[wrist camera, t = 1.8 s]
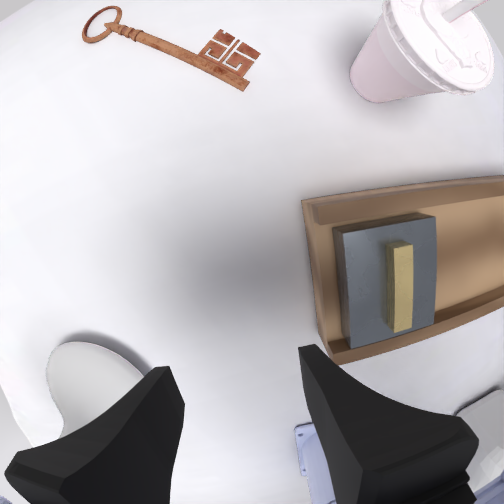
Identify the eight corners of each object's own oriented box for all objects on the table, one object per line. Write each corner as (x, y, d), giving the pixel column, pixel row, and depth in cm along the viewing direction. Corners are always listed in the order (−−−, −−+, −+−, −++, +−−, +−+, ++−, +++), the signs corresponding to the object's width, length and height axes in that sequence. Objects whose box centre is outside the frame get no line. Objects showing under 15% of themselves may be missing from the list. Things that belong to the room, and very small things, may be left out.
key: (275, 51, 17) (120, -10, 15) (277, 46, 16) (117, -15, 14) (229, 111, 18) (76, 40, 16) (229, 107, 17) (72, 35, 15)
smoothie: (391, 40, 16) (504, -45, 3) (421, 114, 18) (570, 80, 4) (317, 47, 17) (403, -84, 3) (350, 128, 18) (503, 71, 4)
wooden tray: (501, 277, 21) (530, 292, 17) (318, 333, 22) (333, 366, 17) (502, 175, 19) (536, 178, 14) (301, 200, 19) (317, 206, 15)
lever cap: (419, 311, 18) (441, 330, 15) (341, 333, 18) (356, 357, 15) (418, 212, 16) (445, 219, 13) (332, 227, 17) (349, 237, 14)
